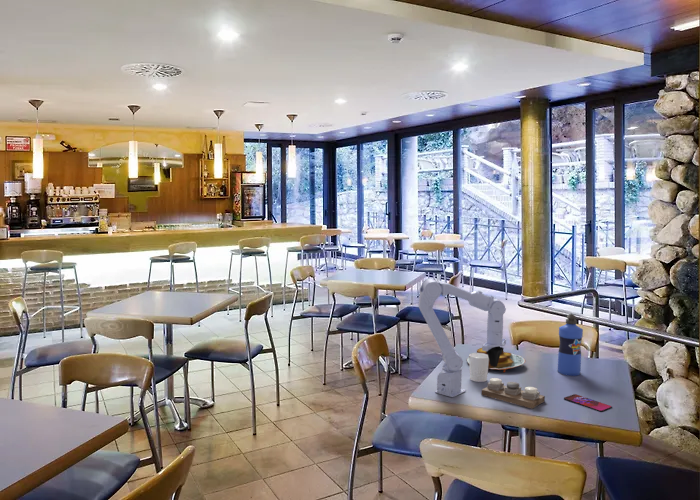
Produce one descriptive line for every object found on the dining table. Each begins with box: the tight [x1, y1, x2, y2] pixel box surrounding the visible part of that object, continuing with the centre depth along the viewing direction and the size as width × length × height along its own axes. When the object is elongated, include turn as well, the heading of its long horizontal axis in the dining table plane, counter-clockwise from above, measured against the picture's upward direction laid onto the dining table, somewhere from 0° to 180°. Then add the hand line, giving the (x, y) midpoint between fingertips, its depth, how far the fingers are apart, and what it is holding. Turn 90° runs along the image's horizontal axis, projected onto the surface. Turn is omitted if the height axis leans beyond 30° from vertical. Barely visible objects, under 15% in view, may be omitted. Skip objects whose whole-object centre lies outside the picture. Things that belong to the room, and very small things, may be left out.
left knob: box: [489, 377, 503, 385], centre depth 210 cm, size 4×4×3 cm
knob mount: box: [481, 381, 546, 409], centre depth 206 cm, size 10×20×5 cm, turn 47°
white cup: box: [468, 352, 489, 383], centre depth 226 cm, size 8×8×10 cm
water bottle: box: [557, 313, 584, 377], centre depth 236 cm, size 9×9×25 cm
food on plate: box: [466, 347, 527, 373], centre depth 247 cm, size 25×25×7 cm
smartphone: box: [563, 393, 613, 413], centre depth 201 cm, size 8×1×15 cm
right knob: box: [524, 386, 539, 394], centre depth 201 cm, size 4×4×3 cm
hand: (493, 366), depth 211 cm, fingers closed
